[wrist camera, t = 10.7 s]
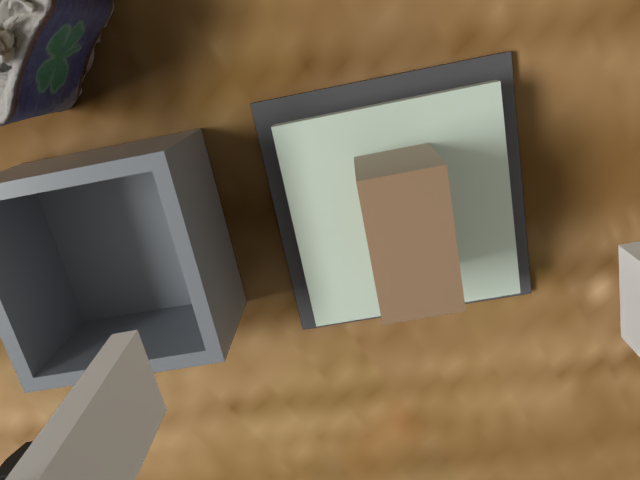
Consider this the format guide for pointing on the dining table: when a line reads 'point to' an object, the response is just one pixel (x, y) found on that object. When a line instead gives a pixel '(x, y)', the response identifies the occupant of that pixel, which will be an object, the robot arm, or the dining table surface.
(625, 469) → the dining table surface
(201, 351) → the storage box
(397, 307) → the block on square base
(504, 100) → the mat
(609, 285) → the dining table surface
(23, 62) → the dark elongated oval piece
